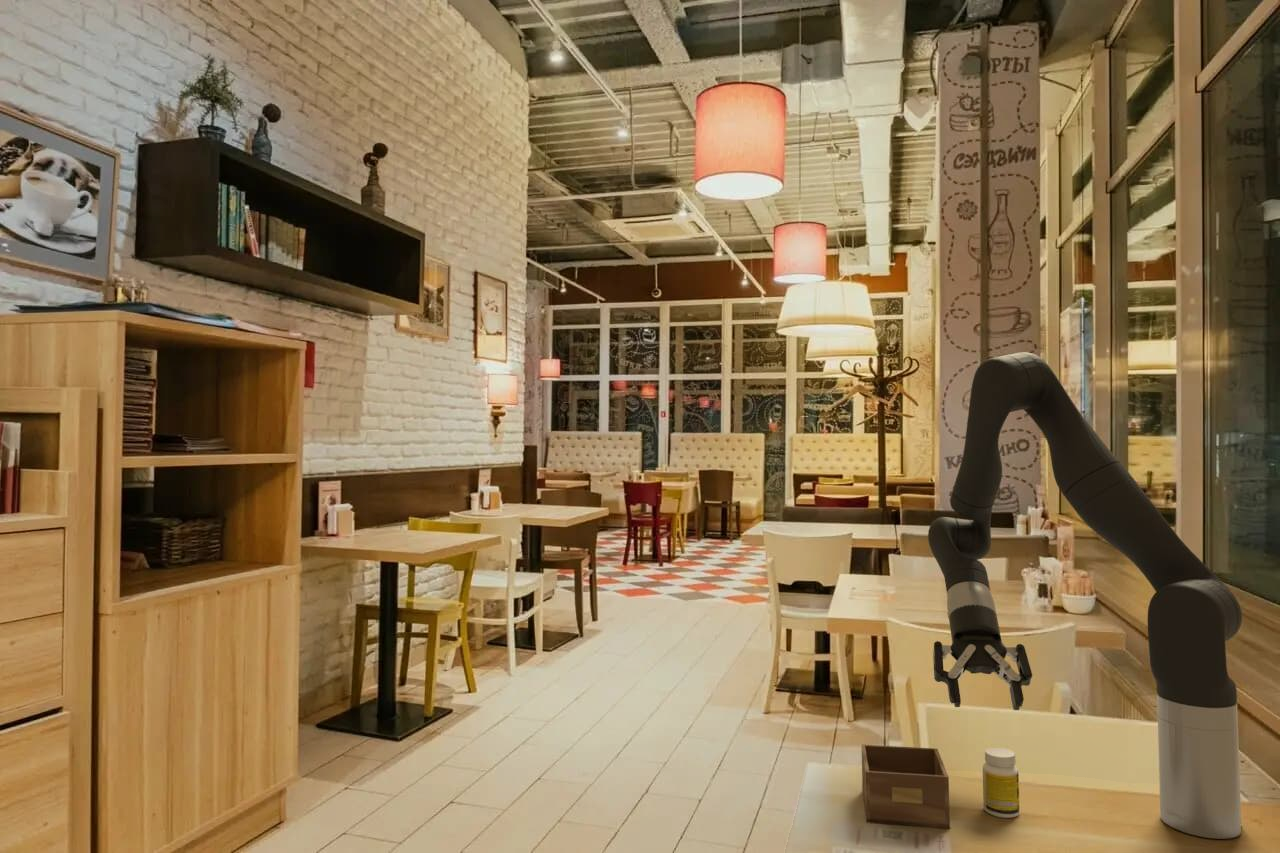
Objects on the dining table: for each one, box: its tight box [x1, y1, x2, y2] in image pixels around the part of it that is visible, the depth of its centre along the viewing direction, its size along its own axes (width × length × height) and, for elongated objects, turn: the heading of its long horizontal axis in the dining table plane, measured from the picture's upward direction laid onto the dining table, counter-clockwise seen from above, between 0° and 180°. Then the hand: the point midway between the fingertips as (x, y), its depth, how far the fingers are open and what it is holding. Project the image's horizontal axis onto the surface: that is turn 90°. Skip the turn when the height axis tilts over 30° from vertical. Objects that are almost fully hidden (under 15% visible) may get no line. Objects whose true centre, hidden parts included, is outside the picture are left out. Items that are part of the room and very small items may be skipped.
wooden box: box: [861, 744, 951, 829], centre depth 122 cm, size 11×11×7 cm
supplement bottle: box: [982, 747, 1020, 819], centre depth 121 cm, size 5×5×8 cm
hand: (987, 706), depth 129 cm, fingers open, 8 cm apart
